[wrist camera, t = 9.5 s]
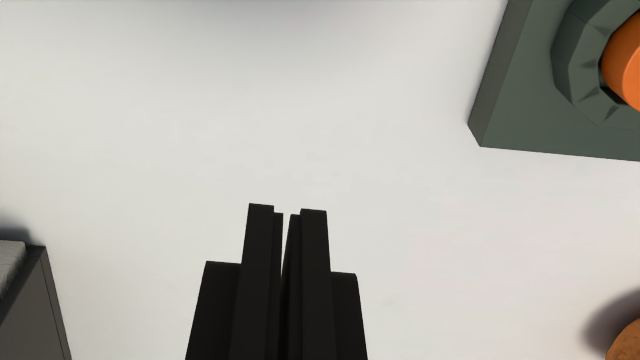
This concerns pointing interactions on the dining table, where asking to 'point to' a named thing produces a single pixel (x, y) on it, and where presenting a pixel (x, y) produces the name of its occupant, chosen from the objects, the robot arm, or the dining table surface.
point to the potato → (626, 344)
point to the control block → (556, 82)
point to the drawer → (10, 263)
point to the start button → (624, 62)
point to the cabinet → (32, 314)
